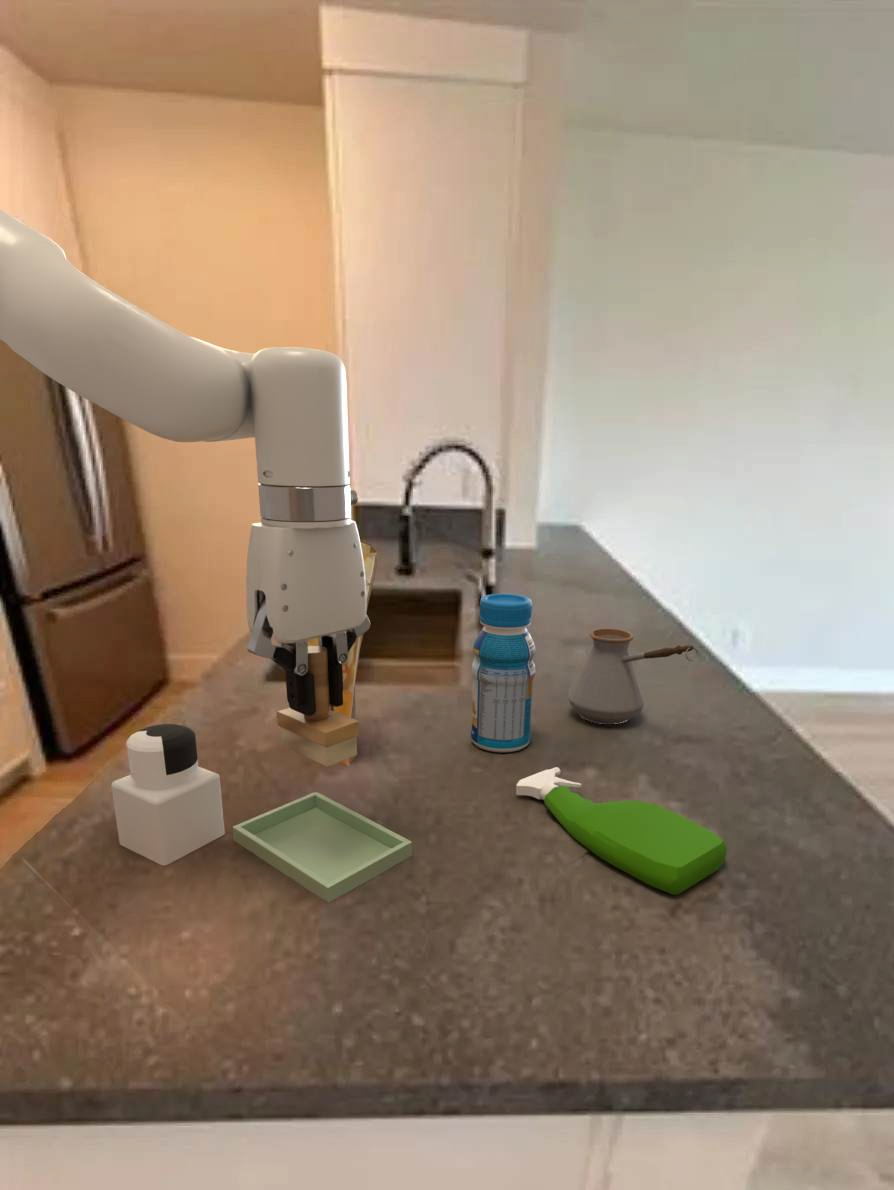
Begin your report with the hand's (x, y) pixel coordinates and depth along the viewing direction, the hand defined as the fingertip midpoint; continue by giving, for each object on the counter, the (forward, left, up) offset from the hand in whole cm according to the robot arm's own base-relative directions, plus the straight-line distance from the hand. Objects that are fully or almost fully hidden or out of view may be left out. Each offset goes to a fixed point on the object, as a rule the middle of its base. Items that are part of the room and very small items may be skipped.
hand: (316, 705), depth 67 cm
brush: (0, 0, -5) cm, 5 cm away
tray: (0, 0, -15) cm, 15 cm away
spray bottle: (+19, +23, -16) cm, 34 cm away
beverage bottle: (-4, +33, -16) cm, 37 cm away
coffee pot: (+6, +50, -16) cm, 53 cm away
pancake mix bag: (-20, +17, -16) cm, 31 cm away
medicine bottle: (-12, -9, -16) cm, 22 cm away
